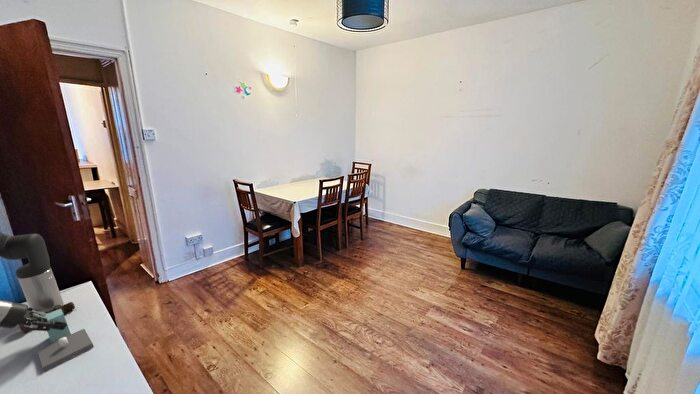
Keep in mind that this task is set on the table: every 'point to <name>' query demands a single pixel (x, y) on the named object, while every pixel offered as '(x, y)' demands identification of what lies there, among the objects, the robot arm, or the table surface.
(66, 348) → the base plate
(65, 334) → the block
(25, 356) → the table surface
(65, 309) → the bolt
